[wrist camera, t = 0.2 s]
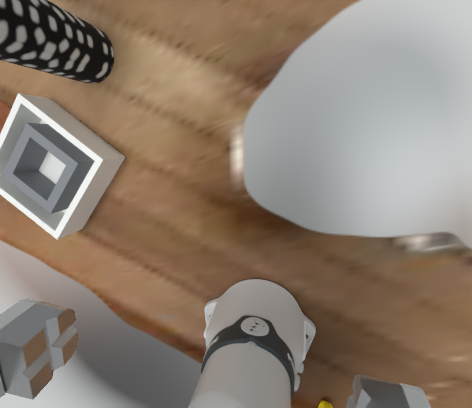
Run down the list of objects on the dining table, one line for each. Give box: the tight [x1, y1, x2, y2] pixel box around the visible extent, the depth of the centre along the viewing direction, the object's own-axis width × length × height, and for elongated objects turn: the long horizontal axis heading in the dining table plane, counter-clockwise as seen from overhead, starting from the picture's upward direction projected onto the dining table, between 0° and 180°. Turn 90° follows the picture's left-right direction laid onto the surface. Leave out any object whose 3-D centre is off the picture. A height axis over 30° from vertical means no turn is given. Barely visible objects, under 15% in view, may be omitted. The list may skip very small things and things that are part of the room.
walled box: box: [0, 93, 125, 239], centre depth 49 cm, size 16×16×6 cm
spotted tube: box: [0, 0, 114, 84], centre depth 38 cm, size 8×8×20 cm
